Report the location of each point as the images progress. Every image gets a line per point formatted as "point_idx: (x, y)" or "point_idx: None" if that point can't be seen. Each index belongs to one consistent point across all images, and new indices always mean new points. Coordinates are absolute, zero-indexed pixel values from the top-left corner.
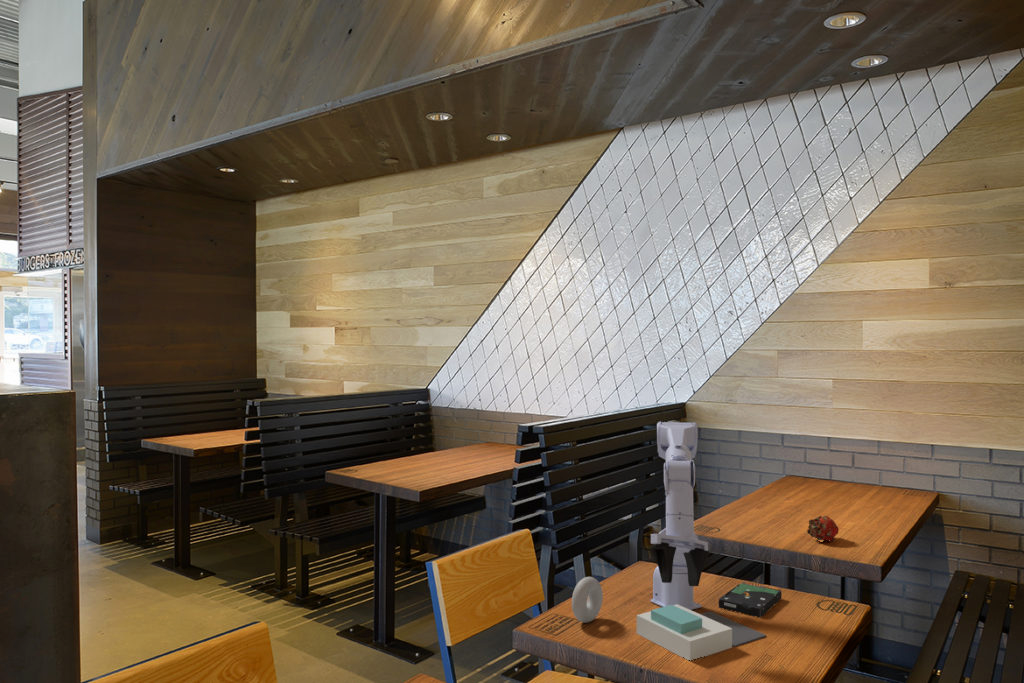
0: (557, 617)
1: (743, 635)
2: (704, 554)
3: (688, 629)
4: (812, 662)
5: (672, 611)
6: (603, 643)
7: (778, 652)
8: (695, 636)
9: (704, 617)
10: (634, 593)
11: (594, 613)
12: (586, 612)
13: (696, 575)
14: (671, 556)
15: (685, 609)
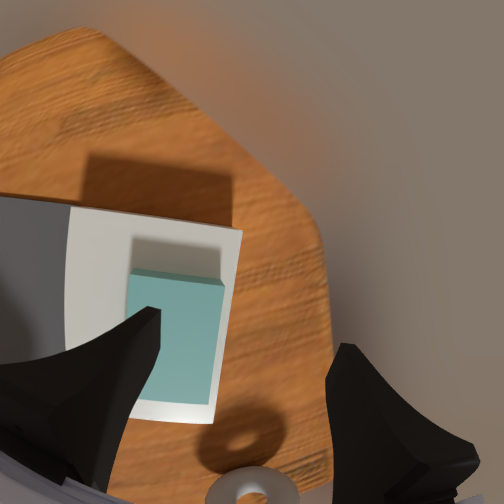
0: None
1: (18, 228)
2: (41, 387)
3: (190, 277)
4: (42, 56)
5: (162, 366)
6: (297, 396)
7: (37, 122)
8: (201, 241)
9: (70, 310)
10: None
11: (239, 476)
12: (272, 475)
13: (139, 340)
14: (409, 426)
15: None
